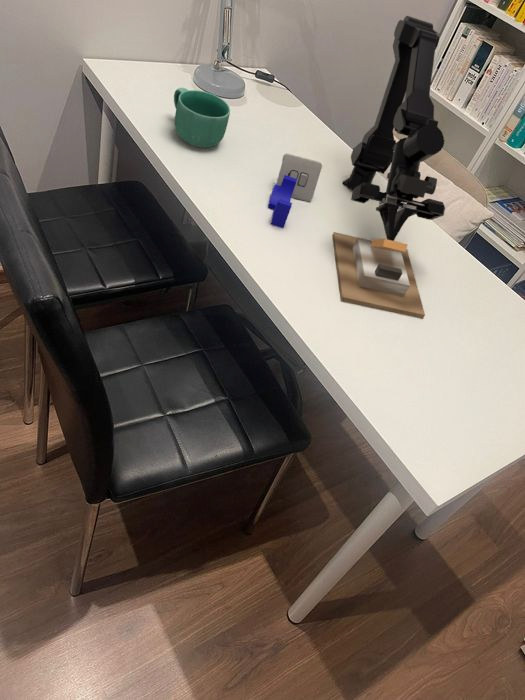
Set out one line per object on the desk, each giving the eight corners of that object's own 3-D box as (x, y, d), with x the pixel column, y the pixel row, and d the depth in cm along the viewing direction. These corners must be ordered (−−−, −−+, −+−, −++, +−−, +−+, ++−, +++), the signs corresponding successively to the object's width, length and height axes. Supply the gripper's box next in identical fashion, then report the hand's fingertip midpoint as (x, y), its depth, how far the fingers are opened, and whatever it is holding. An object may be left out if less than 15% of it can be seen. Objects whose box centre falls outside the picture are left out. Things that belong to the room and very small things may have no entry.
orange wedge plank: (370, 246, 123) (372, 239, 122) (392, 251, 124) (394, 244, 123) (382, 246, 116) (384, 238, 116) (405, 251, 117) (407, 244, 117)
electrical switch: (273, 193, 135) (284, 156, 129) (272, 184, 139) (283, 147, 133) (311, 203, 137) (324, 167, 131) (309, 193, 141) (321, 157, 135)
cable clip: (270, 195, 135) (278, 172, 130) (289, 201, 135) (297, 179, 131) (263, 222, 126) (271, 200, 122) (283, 229, 127) (291, 206, 122)
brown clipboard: (332, 235, 130) (341, 213, 125) (405, 252, 133) (416, 231, 129) (340, 300, 115) (352, 278, 111) (422, 318, 118) (436, 297, 114)
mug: (231, 151, 143) (240, 115, 136) (189, 156, 136) (196, 118, 129) (196, 116, 150) (203, 81, 143) (154, 119, 143) (160, 82, 136)
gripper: (377, 145, 109) (362, 226, 109) (465, 169, 113) (450, 247, 113) (357, 161, 120) (343, 234, 120) (438, 182, 124) (424, 253, 124)
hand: (390, 242), depth 119 cm, fingers closed, pressing on orange wedge plank
